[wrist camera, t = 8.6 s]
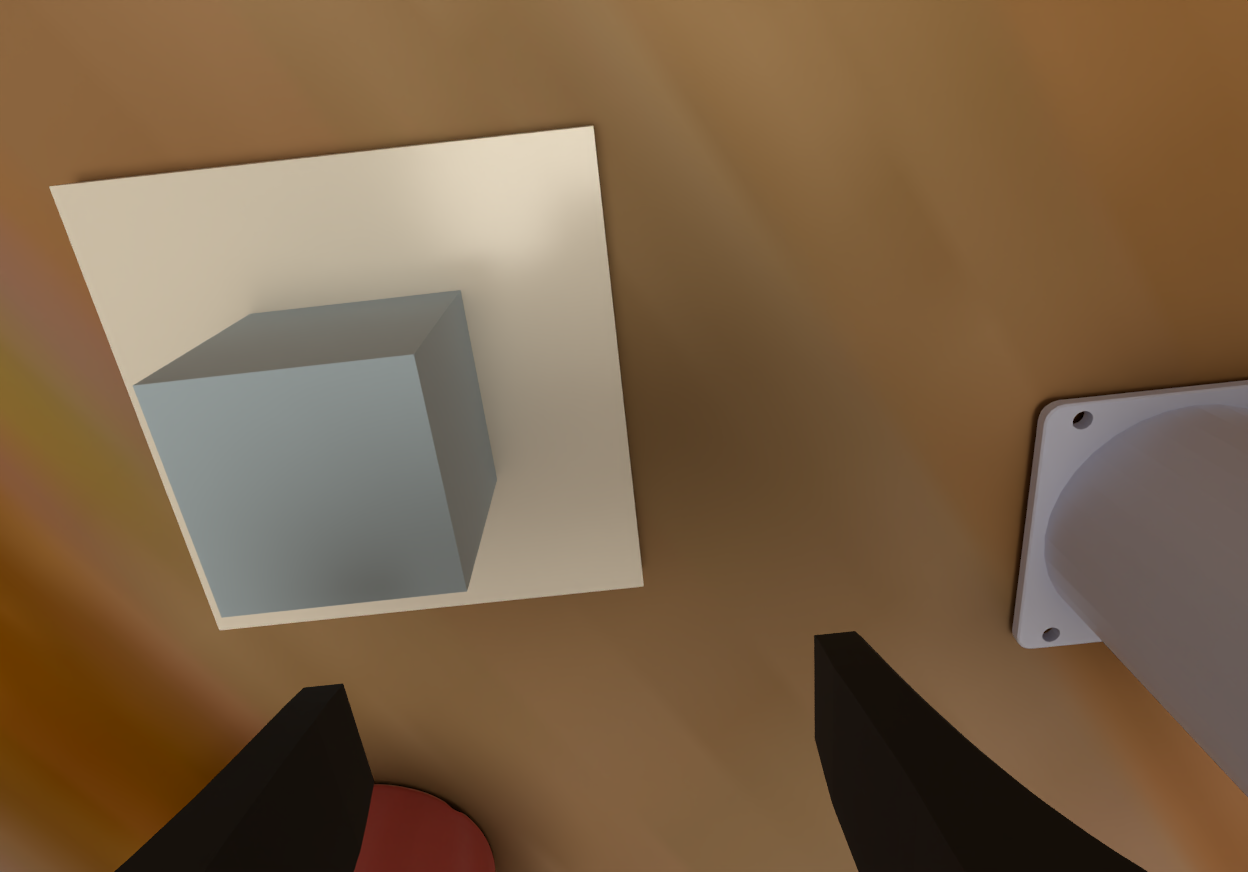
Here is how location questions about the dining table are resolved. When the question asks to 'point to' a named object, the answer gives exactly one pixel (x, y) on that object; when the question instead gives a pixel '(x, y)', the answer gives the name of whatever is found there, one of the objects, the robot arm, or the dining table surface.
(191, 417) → the grey cube
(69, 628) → the dining table surface
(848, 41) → the dining table surface
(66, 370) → the dining table surface
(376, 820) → the flower pot
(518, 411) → the cream tile
